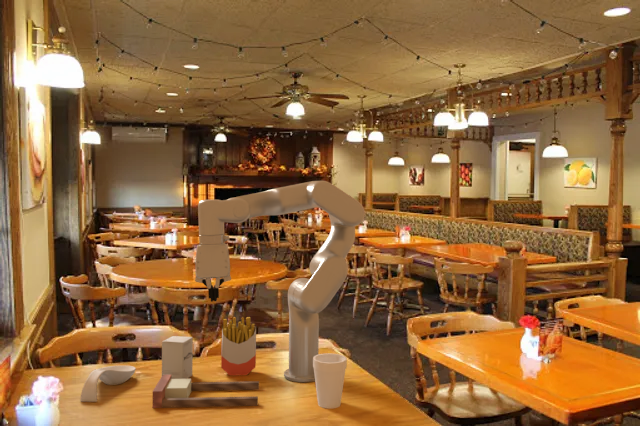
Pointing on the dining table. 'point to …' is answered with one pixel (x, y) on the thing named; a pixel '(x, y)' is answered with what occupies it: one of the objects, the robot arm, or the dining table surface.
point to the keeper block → (178, 388)
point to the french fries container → (238, 347)
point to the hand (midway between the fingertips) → (213, 300)
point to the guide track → (163, 402)
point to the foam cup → (329, 378)
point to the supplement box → (177, 357)
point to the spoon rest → (105, 380)
